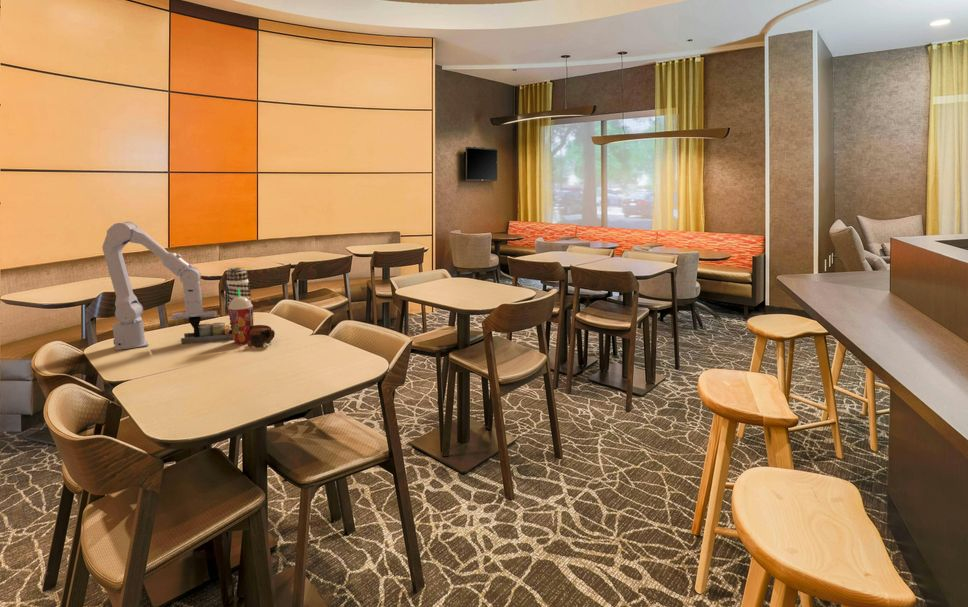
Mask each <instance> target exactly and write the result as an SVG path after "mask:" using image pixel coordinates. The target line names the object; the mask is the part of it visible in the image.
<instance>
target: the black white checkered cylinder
mask: <svg viewBox="0 0 968 607" xmlns="http://www.w3.org/2000/svg"><path fill="white" fill-rule="evenodd" d="M248 272H249V271H248V270H246V269H245V268H244V267H231V268H228V269H227V270H226V272H225V274H226V286H225V290H226V291H225V293H226V294H227V295H226V301H227V303H228V305H229V304H230V302H231V301H232V300H233V299H234V298H236V297H239V296H238V289H240V296H242V297H245V298H247V299H248V300H249V301H250V302H251V301H252V299H251V298H250V297H251V296H252V293H250V292H252V290H251V289H249V288H251V284H250V283H251V281H249V278H248ZM229 329H230V330H231V329H232V328H231V322H230V321H229Z"/></svg>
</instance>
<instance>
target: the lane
mask: <svg viewBox="0 0 968 607" xmlns="http://www.w3.org/2000/svg"><path fill="white" fill-rule="evenodd" d="M231 340H233V334H232V329H231V328H230V334H223V335H212V336H200V337H194V332H188V333H186V332H185V333H184V335H183V337H181V338H180V343H181V345H187V344H188V345H190V344H195V343H196V344H198V343H209V342H221V341H222V342H223V341H231ZM233 341H234V340H233Z"/></svg>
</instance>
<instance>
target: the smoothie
mask: <svg viewBox="0 0 968 607" xmlns="http://www.w3.org/2000/svg"><path fill="white" fill-rule="evenodd" d="M238 296H239V297H236V298H234V299H233V300H232V301H231V302H230V304H229V303H228V306H227V310H228V317H229V323H230V322H231V325H230V326H231V328H232V334H233V341H234V342H235V344H237V345H244V344H245V345H246V344H247V342H248V341H250V340H251V337H250V334H249V333H248V334H247V332H248V331H249V330H250V327H251V326H254V304H252V302H251V301H249V300H248V299H247V298H245V297H242V296H240V289H238ZM231 328H230V329H231ZM247 345H248V344H247Z"/></svg>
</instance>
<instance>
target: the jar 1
mask: <svg viewBox="0 0 968 607" xmlns="http://www.w3.org/2000/svg"><path fill="white" fill-rule="evenodd" d="M212 324H213V323H199V326H198V327H199V337H200V336H212Z"/></svg>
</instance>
